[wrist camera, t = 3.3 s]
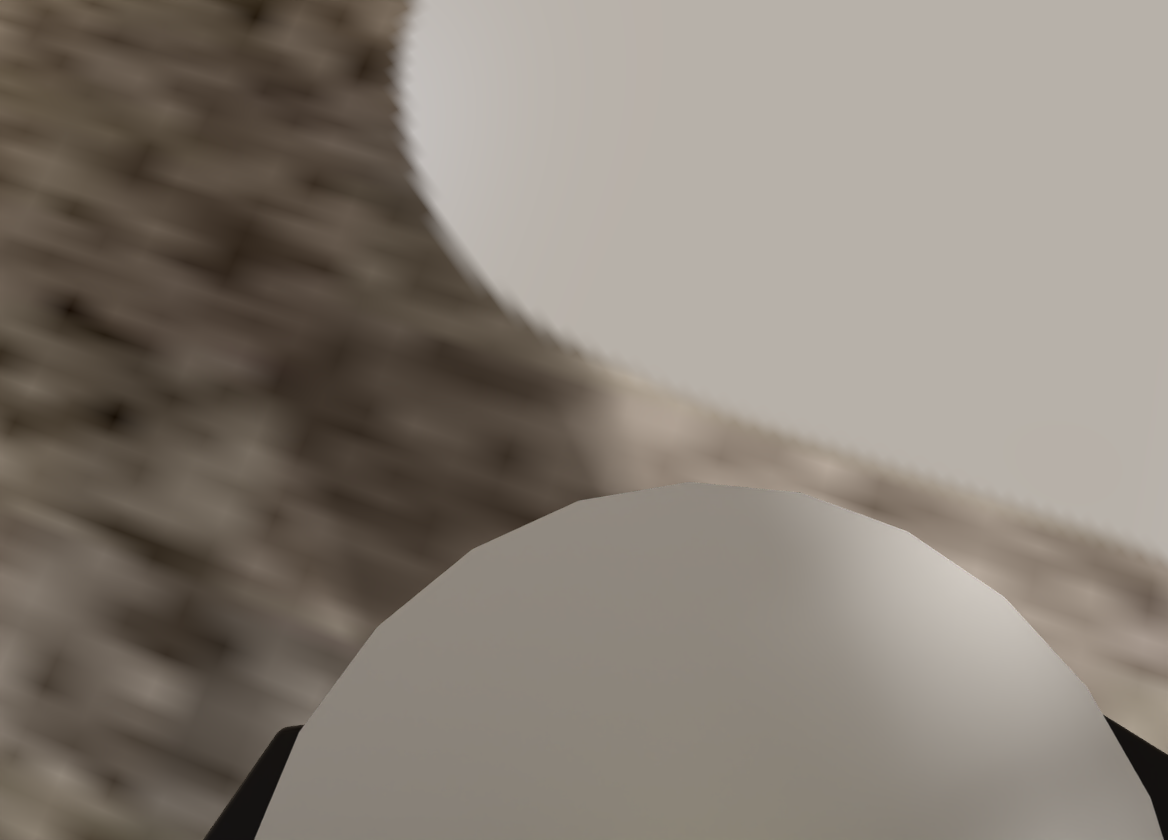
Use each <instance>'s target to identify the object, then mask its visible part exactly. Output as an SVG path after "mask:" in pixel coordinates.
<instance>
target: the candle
mask: <svg viewBox="0 0 1168 840" xmlns="http://www.w3.org/2000/svg"><path fill="white" fill-rule="evenodd" d="M254 840H1164V839H1163V836H1162V833H1161V830H1160V826H1159V823H1158V820H1157V817H1156V814H1155V810H1154V807H1153V804H1152V801H1151V798H1150V796H1149V794H1148V793H1147V791H1146V789H1145V787H1144V786H1143V784H1142V782H1141V780H1140V779H1139V777H1138V775H1137V773H1136V772H1135V770H1134V768H1133V766H1132V765H1131V763H1130V761H1129V759H1128V758H1127V756H1126V754H1125V752H1124V751H1123V749H1122V747H1121V745H1120V744H1119V742H1118V740H1117V738H1116V737H1115V735H1114V733H1113V731H1112V730H1111V728H1110V726H1109V724H1108V723H1107V721H1106V719H1105V717H1104V716H1103V714H1102V712H1101V710H1100V709H1099V707H1098V705H1097V704H1096V702H1095V700H1094V698H1093V697H1092V695H1091V693H1090V691H1089V690H1088V688H1087V686H1086V685H1085V684H1084V683H1083V682H1082V681H1081V680H1080V679H1079V678H1078V677H1077V675H1076V674H1075V673H1074V672H1073V671H1072V670H1071V669H1070V668H1069V667H1068V666H1067V665H1066V663H1065V662H1064V661H1063V660H1062V659H1061V658H1060V657H1059V656H1058V655H1057V654H1056V653H1055V652H1054V650H1053V649H1052V648H1051V647H1050V646H1049V645H1048V644H1047V643H1046V642H1045V641H1044V640H1043V638H1042V637H1041V636H1040V635H1039V634H1038V633H1037V632H1036V631H1035V630H1034V629H1033V628H1032V626H1031V625H1030V624H1029V623H1028V622H1027V621H1026V620H1025V619H1024V618H1023V617H1022V616H1021V615H1020V613H1019V612H1018V611H1017V610H1016V609H1015V608H1014V607H1013V606H1012V605H1011V604H1010V603H1009V601H1008V600H1007V599H1006V598H1005V597H1004V596H1002V595H1001V594H999V593H998V592H996V591H995V590H993V589H992V588H990V587H989V586H987V585H986V584H985V583H983V582H982V581H980V580H979V579H977V578H976V577H974V576H973V575H971V574H970V573H968V572H967V571H965V570H964V569H962V568H961V567H959V566H958V565H956V564H955V563H953V562H952V561H950V560H949V559H948V558H946V557H945V556H943V555H942V554H940V553H939V552H937V551H936V550H934V549H933V548H931V547H930V546H928V545H927V544H925V543H924V542H922V541H921V540H919V539H918V538H916V537H915V536H913V535H912V534H911V533H909V532H908V531H905V530H902V529H899V528H897V527H894V526H891V525H889V524H886V523H883V522H880V521H878V520H875V519H872V518H869V517H867V516H864V515H861V514H858V513H856V512H853V511H850V510H847V509H845V508H842V507H839V506H836V505H834V504H831V503H828V502H825V501H823V500H820V499H817V498H814V497H812V496H809V495H806V494H804V493H800V492H790V491H779V490H769V489H758V488H748V487H737V486H726V485H716V484H705V483H695V482H687V483H681V484H675V485H669V486H663V487H657V488H651V489H645V490H639V491H633V492H627V493H621V494H615V495H609V496H603V497H598V498H592V499H586V500H580V501H577V502H575V503H572V504H570V505H568V506H566V507H564V508H561V509H559V510H557V511H555V512H553V513H550V514H548V515H546V516H544V517H542V518H539V519H537V520H535V521H533V522H531V523H529V524H526V525H524V526H522V527H520V528H518V529H515V530H513V531H511V532H509V533H507V534H504V535H502V536H500V537H498V538H496V539H493V540H491V541H489V542H487V543H485V544H482V545H480V546H478V547H476V548H474V549H472V550H471V551H469V552H468V553H467V554H466V555H465V556H463V557H462V558H461V559H460V560H458V561H457V562H456V563H455V564H454V565H452V566H451V567H450V568H449V569H447V570H446V571H445V572H444V573H442V574H441V575H440V576H439V577H438V578H436V579H435V580H434V581H433V582H431V583H430V584H429V585H428V586H427V587H425V588H424V589H423V590H422V591H420V592H419V593H418V594H417V595H416V596H414V597H413V598H412V599H411V600H409V601H408V602H407V603H406V604H405V605H403V606H402V607H401V608H400V609H398V610H397V611H396V612H395V613H393V614H392V615H391V616H390V617H389V618H387V619H386V620H385V621H384V622H382V623H381V624H380V625H379V626H378V627H377V628H376V629H375V630H374V632H373V633H372V634H371V636H370V637H369V639H368V640H367V641H366V643H365V644H364V645H363V647H362V648H361V649H360V651H359V652H358V653H357V655H356V656H355V657H354V659H353V660H352V661H351V663H350V664H349V666H348V667H347V668H346V670H345V671H344V672H343V674H342V675H341V676H340V678H339V679H338V680H337V682H336V683H335V684H334V686H333V687H332V688H331V690H330V691H329V693H328V694H327V695H326V697H325V698H324V699H323V701H322V702H321V703H320V705H319V706H318V707H317V709H316V710H315V711H314V713H313V714H312V715H311V717H310V718H309V720H308V721H307V722H306V724H305V725H304V726H303V728H302V729H301V730H300V732H299V734H298V736H297V739H296V741H295V743H294V746H293V748H292V750H291V753H290V755H289V758H288V760H287V762H286V765H285V767H284V770H283V772H282V774H281V777H280V779H279V782H278V784H277V786H276V789H275V791H274V794H273V796H272V798H271V801H270V803H269V805H268V808H267V810H266V813H265V815H264V817H263V820H262V822H261V825H260V827H259V829H258V832H257V834H256V837H255V839H254Z"/></svg>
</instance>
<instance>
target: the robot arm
mask: <svg viewBox="0 0 1168 840" xmlns="http://www.w3.org/2000/svg"><path fill="white" fill-rule="evenodd" d="M1103 716H1104V717H1105V719H1106V721H1107V723H1108V724H1109V726H1110V728H1111V730H1112V731H1113V733H1114V735H1115V737H1116V738H1117V740H1118V742H1119V744H1120V745H1121V747H1122V749H1123V751H1124V752H1125V754H1126V756H1127V758H1128V759H1129V761H1130V763H1131V765H1132V766H1133V768H1134V770H1135V772H1136V773H1137V775H1138V777H1139V779H1140V780H1141V782H1142V784H1143V786H1144V787H1145V789H1146V791H1147V793H1148V794H1149V796H1150V798H1151V801H1152V804H1153V807H1154V810H1155V814H1156V817H1157V820H1158V823H1159V826H1160V830H1161V833H1162V836H1163V839H1164V840H1168V755H1167V754H1166V753H1164V752H1162V751H1161V750H1159V749H1157V748H1156V747H1154V746H1153V745H1151V744H1149V743H1148V742H1146V741H1145V740H1143V739H1141V738H1140V737H1138V736H1137V735H1135V734H1133V733H1132V732H1130V731H1129V730H1127V729H1125V728H1124V727H1122V726H1121V725H1119V724H1117V723H1116V722H1114V721H1113V720H1111V719H1109V718H1108V717H1106V716H1105V715H1103ZM303 726H304V725H298V726H290V727H285V728H283V729H282V730H280V731H279V732H278V733H277V734H276V735H275V737H274V738H273V740H272V741H271V743H270V744H269V746H268V747H267V748H266V750H265V751H264V753H263V754H262V756H261V757H260V759H259V760H258V761H257V763H256V764H255V766H254V767H253V769H252V770H251V772H250V773H249V774H248V776H247V777H246V779H245V780H244V782H243V783H242V785H241V786H240V787H239V789H238V790H237V792H236V793H235V795H234V796H233V798H232V799H231V800H230V802H229V803H228V805H227V806H226V808H225V809H224V811H223V812H222V813H221V815H220V816H219V818H218V819H217V821H216V822H215V824H214V825H213V826H212V828H211V829H210V831H209V832H208V834H207V835H206V837H205V838H204V839H203V840H254V839H255V837H256V834H257V832H258V829H259V827H260V825H261V822H262V820H263V817H264V815H265V813H266V810H267V808H268V805H269V803H270V801H271V798H272V796H273V794H274V791H275V789H276V786H277V784H278V782H279V779H280V777H281V774H282V772H283V770H284V767H285V765H286V762H287V760H288V758H289V755H290V753H291V750H292V748H293V746H294V743H295V741H296V739H297V736H298V734H299V732H300V730H301V729H302V728H303Z"/></svg>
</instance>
